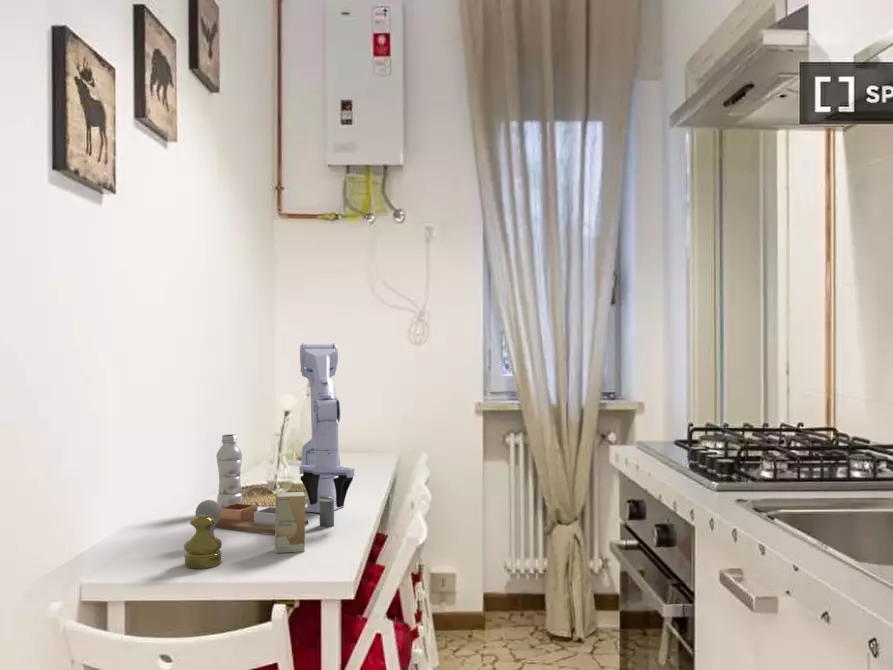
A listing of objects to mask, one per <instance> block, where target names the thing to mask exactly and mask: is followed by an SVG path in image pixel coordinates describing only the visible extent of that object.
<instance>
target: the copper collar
mask: <svg viewBox="0 0 893 670" xmlns="http://www.w3.org/2000/svg"><path fill="white" fill-rule="evenodd" d="M256 511H258V505H257V504H249V503H243V504H240V503H235V504H232V505H228V506H225V507H222V508H221V517H220V519H219V521H228V522H236V523H242V522H245V521H248V520H251V519H254V512H256Z"/></svg>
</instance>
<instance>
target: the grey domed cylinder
mask: <svg viewBox="0 0 893 670" xmlns="http://www.w3.org/2000/svg"><path fill="white" fill-rule="evenodd" d="M319 501H320V513H319V527H320V528H332V527H335V510H334V496H330V495H326V496H320V498H319Z"/></svg>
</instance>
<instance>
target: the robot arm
mask: <svg viewBox="0 0 893 670" xmlns="http://www.w3.org/2000/svg"><path fill="white" fill-rule="evenodd" d="M338 361H339V349H338V345H337V344H336V343H335V342H334V343H301V344H300V346H299V362H300V363H299V365H300V372H301V376H302V377H304V378H305V379H307V382H308V384H309V388H310V389H309V390H310V416H311V418H310V419H311V421H310V422H311V439H309V440H308V441H307V442H305V443H304V444H303V446H302V448H301V460H300V463H301V464H300V465H299V474H300V475H301V476H300V478H299V479H300V481H301V482H302V484H303V486H304V488H305V491H306V506H305V513H306V512H308V513H314V514H315V513H317V514H320V501H319V498H320V496H326V495H330V496H334V511H335V510H338V509H341V508H344V507H345V501H346V496H347V493H348V490H349V487H350V485H351V483H352V481H353V479H354V477H355V468H352V467H345V466H341V457H340V456H341V455H340V449H339V423H340V421H341V403H340V398H339V397H338V396H337V392H336V384H335V383H334V381H333V380H332V379H330V378H332V377H334V376H335V375H336V372H337V367H338Z"/></svg>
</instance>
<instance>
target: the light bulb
mask: <svg viewBox="0 0 893 670" xmlns="http://www.w3.org/2000/svg"><path fill="white" fill-rule="evenodd" d="M199 515H207V516H209V517H212V518H214V519H215V521H216V522H215V523H214V524H213V525H212V526H211V527H210V532H211V533H212V534H213V535H214V536H215V526H216V524H217V522H218V521H219V519H220V517H221V508H220V506H219V504H218V503H217V501H216V500H212V499H206V500H203V501H202V502H200V503H199V504H198V505H197V507H196V509H195V518H196V517H198V516H199Z"/></svg>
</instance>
